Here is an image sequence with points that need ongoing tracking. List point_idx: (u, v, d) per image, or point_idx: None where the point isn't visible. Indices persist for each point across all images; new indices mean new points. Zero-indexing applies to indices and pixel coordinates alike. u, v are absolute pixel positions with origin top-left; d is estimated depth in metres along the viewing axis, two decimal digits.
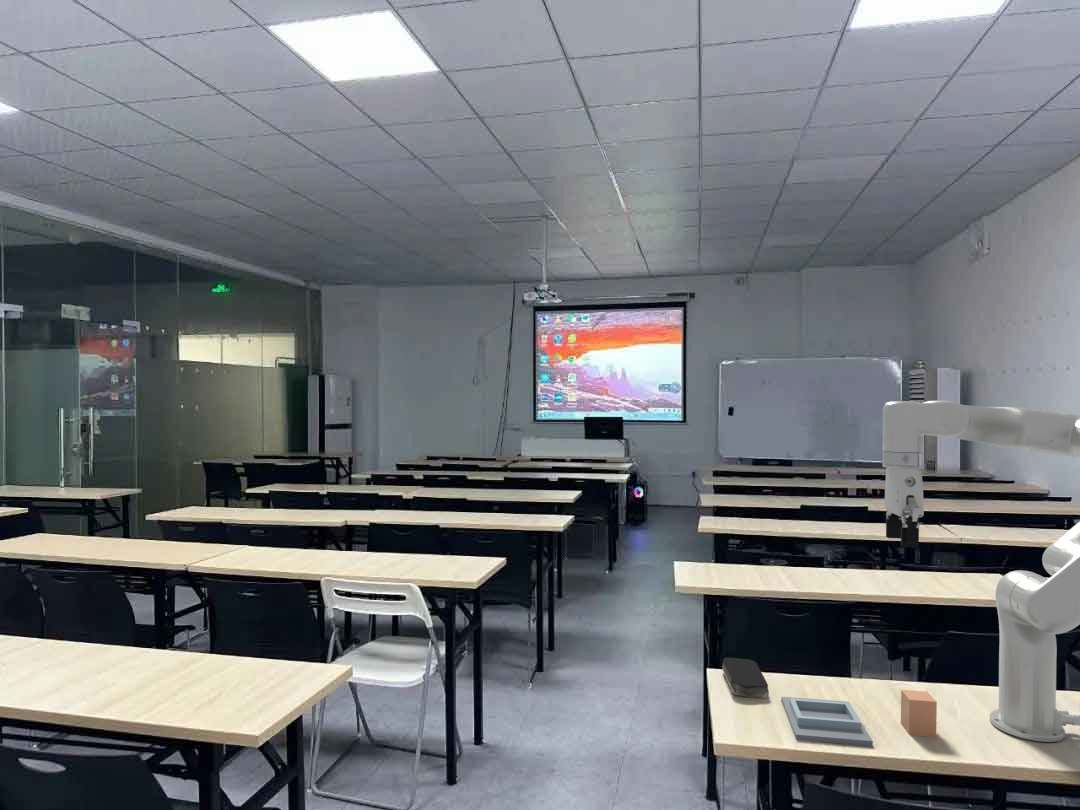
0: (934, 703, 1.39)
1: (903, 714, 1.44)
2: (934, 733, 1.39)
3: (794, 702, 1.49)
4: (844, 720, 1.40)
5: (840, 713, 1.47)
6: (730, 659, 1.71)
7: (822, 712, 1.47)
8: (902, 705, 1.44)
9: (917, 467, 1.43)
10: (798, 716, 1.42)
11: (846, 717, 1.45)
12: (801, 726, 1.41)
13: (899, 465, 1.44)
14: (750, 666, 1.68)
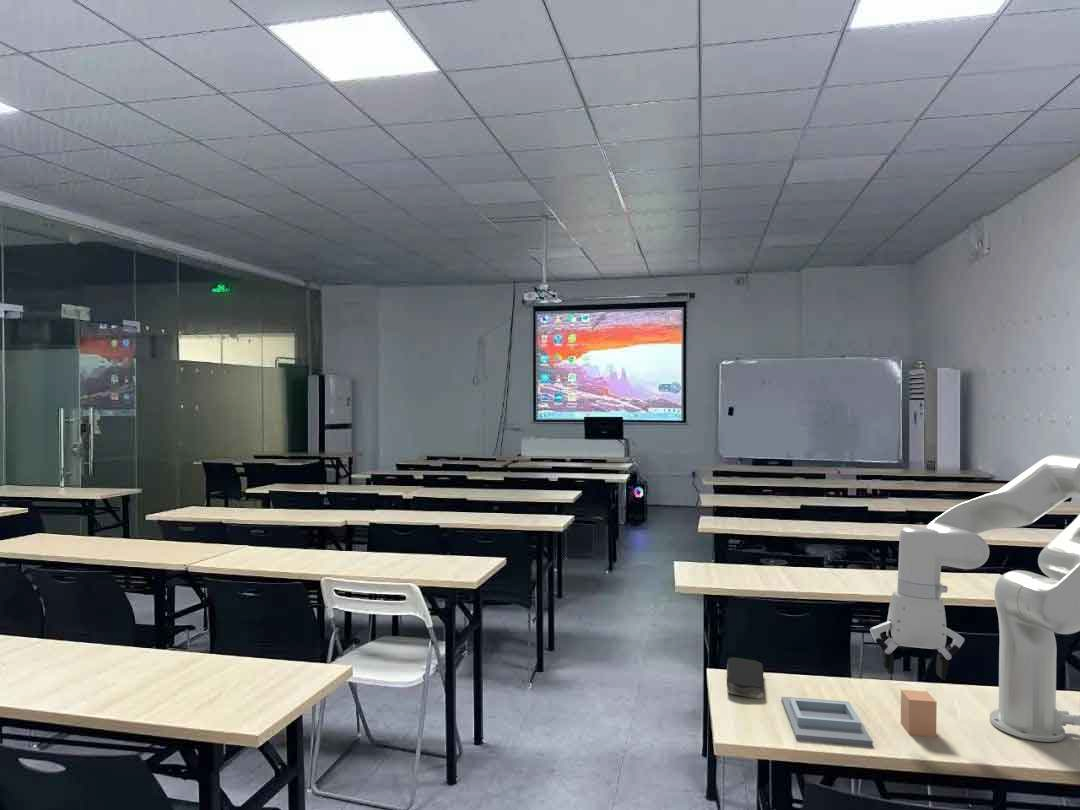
0: (934, 703, 1.39)
1: (903, 714, 1.44)
2: (934, 733, 1.39)
3: (794, 702, 1.49)
4: (844, 720, 1.40)
5: (840, 713, 1.47)
6: (735, 659, 1.71)
7: (822, 712, 1.47)
8: (902, 705, 1.44)
9: None
10: (798, 716, 1.42)
11: (846, 717, 1.45)
12: (801, 726, 1.41)
13: (939, 597, 1.40)
14: (753, 666, 1.68)
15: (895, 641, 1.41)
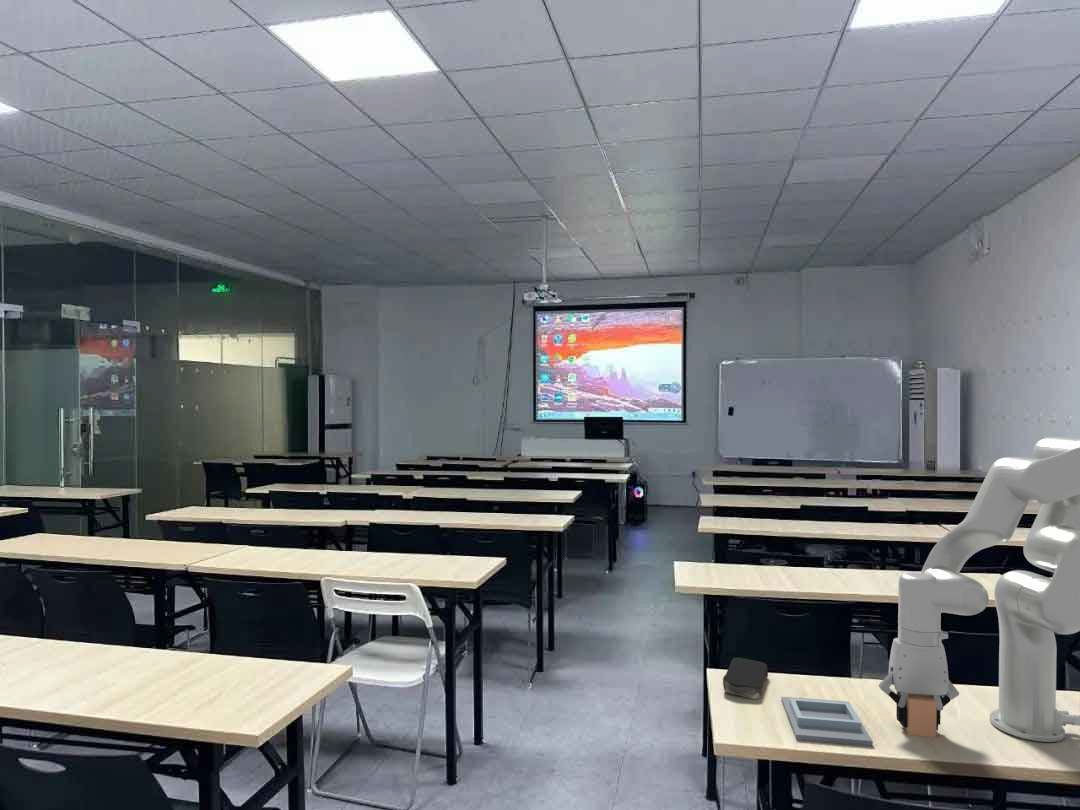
0: (934, 703, 1.39)
1: None
2: (934, 733, 1.39)
3: (794, 702, 1.49)
4: (844, 720, 1.40)
5: (840, 713, 1.47)
6: (740, 659, 1.71)
7: (822, 712, 1.47)
8: None
9: None
10: (798, 716, 1.42)
11: (846, 717, 1.45)
12: (801, 726, 1.41)
13: (940, 643, 1.40)
14: (756, 667, 1.67)
15: (897, 689, 1.41)
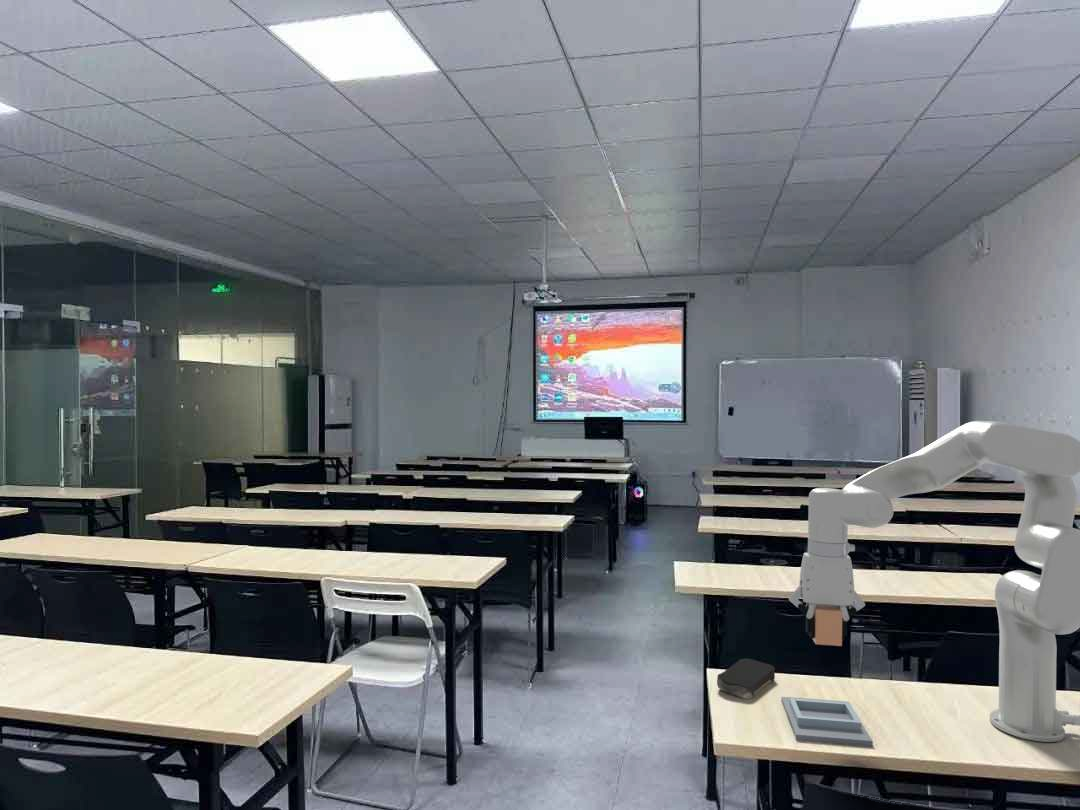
0: (840, 613, 1.42)
1: None
2: (840, 642, 1.42)
3: (794, 702, 1.49)
4: (844, 720, 1.40)
5: (840, 713, 1.47)
6: (749, 660, 1.71)
7: (822, 712, 1.47)
8: None
9: None
10: (798, 716, 1.42)
11: (846, 717, 1.45)
12: (801, 726, 1.41)
13: (846, 555, 1.43)
14: (761, 669, 1.66)
15: (805, 600, 1.44)
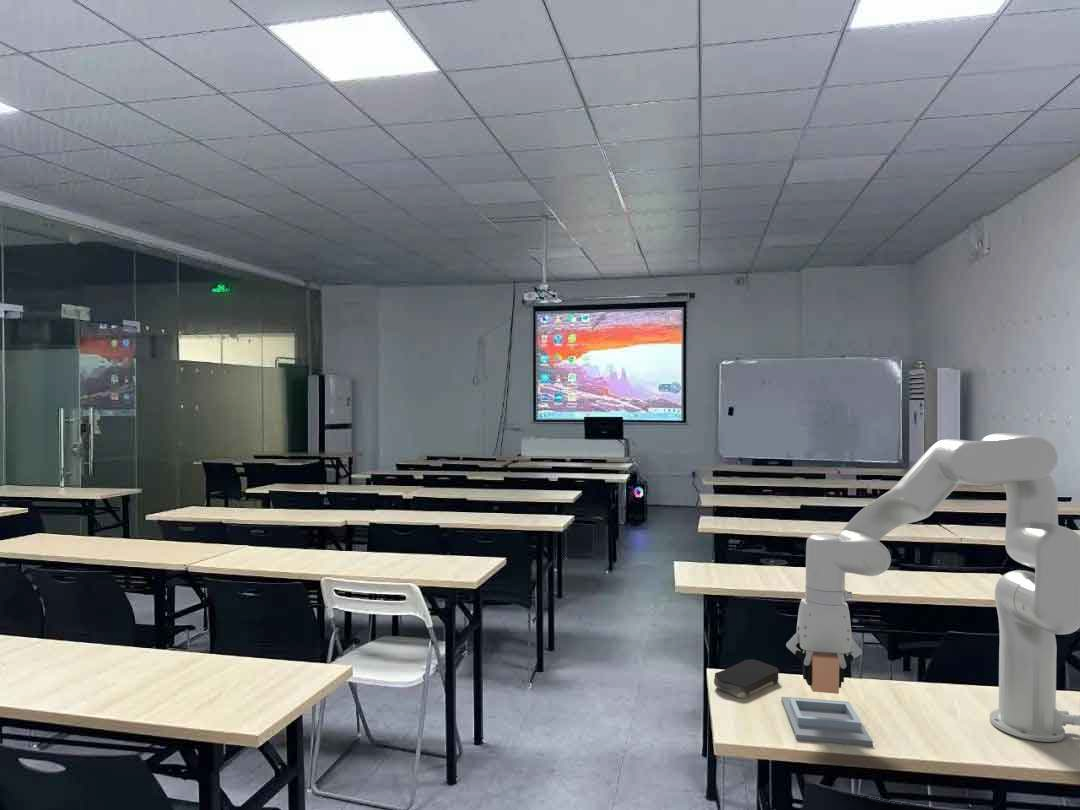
0: (837, 660, 1.42)
1: None
2: (837, 690, 1.42)
3: (794, 702, 1.49)
4: (844, 720, 1.40)
5: (840, 713, 1.47)
6: (755, 661, 1.70)
7: (822, 712, 1.47)
8: None
9: None
10: (798, 716, 1.42)
11: (846, 717, 1.45)
12: (801, 726, 1.41)
13: (843, 603, 1.43)
14: (764, 671, 1.65)
15: (802, 647, 1.44)
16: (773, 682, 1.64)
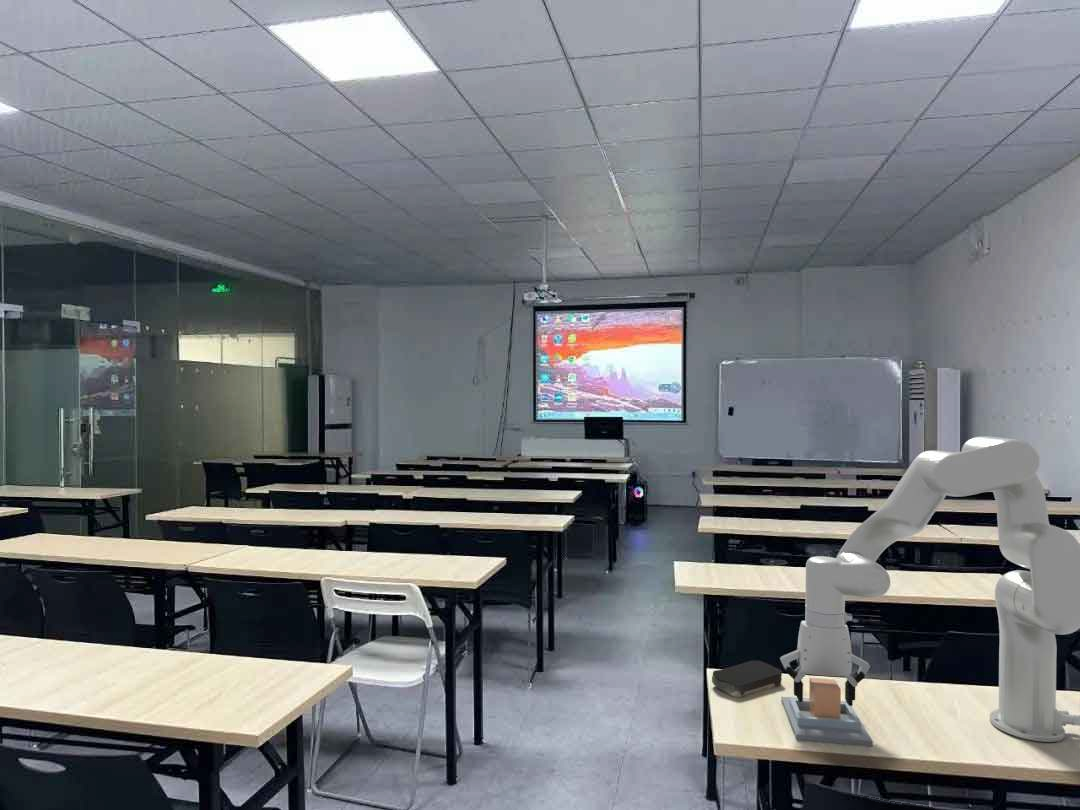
0: (838, 690, 1.42)
1: (810, 701, 1.47)
2: None
3: (794, 702, 1.49)
4: (844, 720, 1.40)
5: (840, 713, 1.47)
6: (760, 663, 1.69)
7: None
8: (810, 693, 1.47)
9: None
10: (798, 716, 1.42)
11: (846, 717, 1.45)
12: (801, 726, 1.41)
13: (843, 625, 1.43)
14: (765, 672, 1.64)
15: (803, 670, 1.44)
16: (775, 684, 1.63)
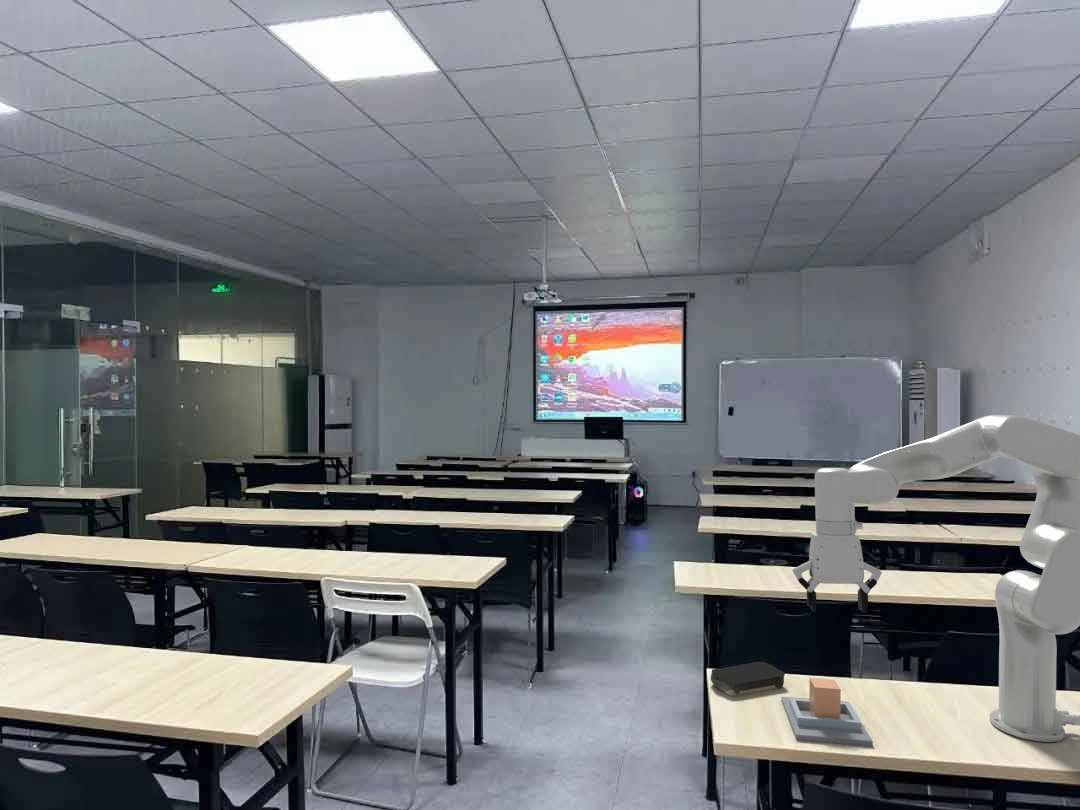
0: (838, 690, 1.42)
1: (810, 701, 1.47)
2: None
3: (794, 702, 1.49)
4: (844, 720, 1.40)
5: (840, 713, 1.47)
6: (765, 664, 1.68)
7: None
8: (810, 693, 1.47)
9: None
10: (798, 716, 1.42)
11: (846, 717, 1.45)
12: (801, 726, 1.41)
13: (854, 533, 1.44)
14: (767, 674, 1.63)
15: (816, 579, 1.45)
16: (775, 686, 1.62)
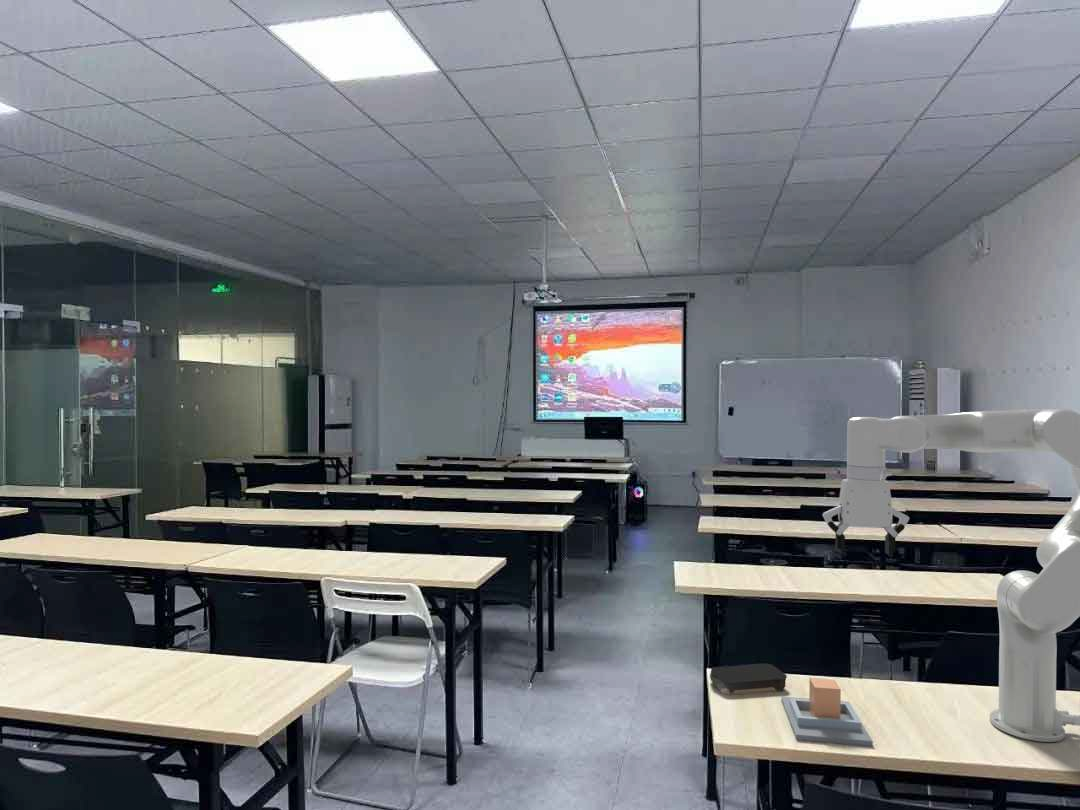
0: (838, 690, 1.42)
1: (810, 701, 1.47)
2: None
3: (794, 702, 1.49)
4: (844, 720, 1.40)
5: (840, 713, 1.47)
6: (770, 666, 1.67)
7: None
8: (810, 693, 1.47)
9: None
10: (798, 716, 1.42)
11: (846, 717, 1.45)
12: (801, 726, 1.41)
13: (884, 479, 1.50)
14: (767, 675, 1.62)
15: (845, 522, 1.51)
16: (775, 688, 1.60)
